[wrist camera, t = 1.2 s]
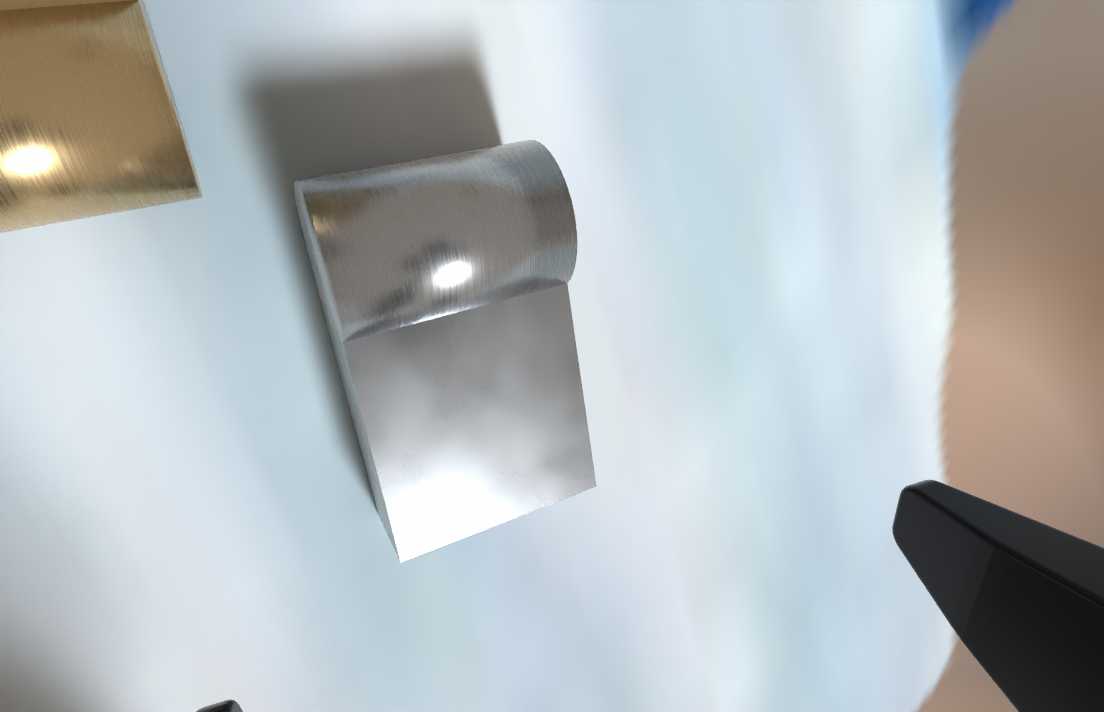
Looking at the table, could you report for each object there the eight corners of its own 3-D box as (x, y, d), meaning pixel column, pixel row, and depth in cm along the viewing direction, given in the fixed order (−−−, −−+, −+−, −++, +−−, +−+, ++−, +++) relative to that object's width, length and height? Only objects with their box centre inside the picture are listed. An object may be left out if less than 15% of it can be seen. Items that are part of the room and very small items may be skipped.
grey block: (553, 449, 23) (612, 500, 20) (377, 512, 21) (410, 582, 18) (502, 141, 20) (564, 137, 16) (287, 178, 18) (305, 183, 14)
